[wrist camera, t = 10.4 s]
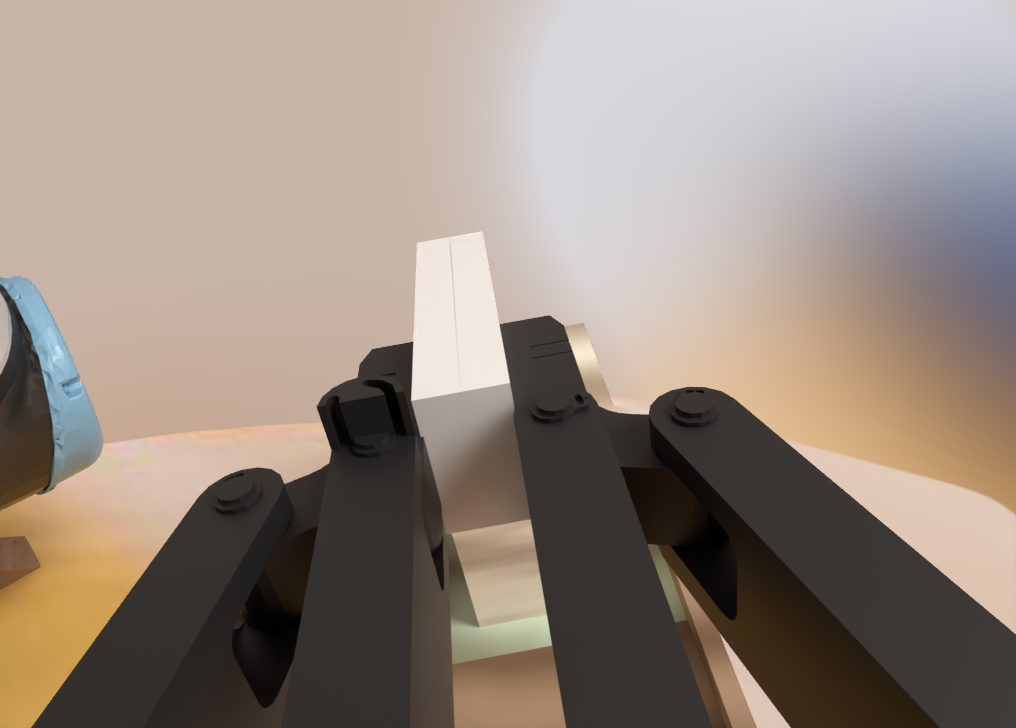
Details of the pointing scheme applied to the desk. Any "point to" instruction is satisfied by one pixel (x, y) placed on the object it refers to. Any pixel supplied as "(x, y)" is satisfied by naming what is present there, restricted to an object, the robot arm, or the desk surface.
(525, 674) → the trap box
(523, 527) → the birch block
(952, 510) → the desk surface
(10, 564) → the wooden block set
